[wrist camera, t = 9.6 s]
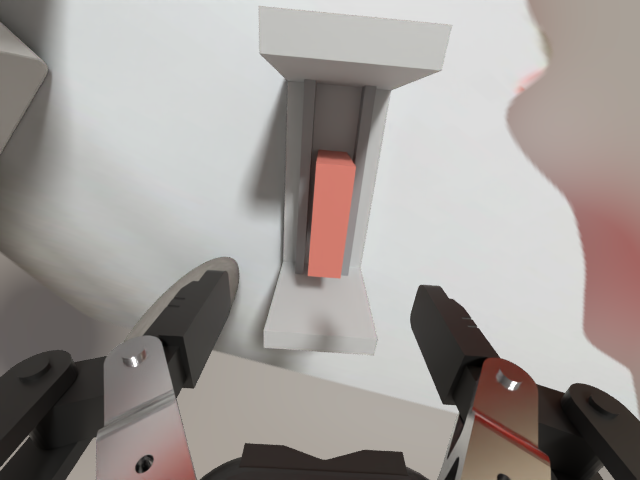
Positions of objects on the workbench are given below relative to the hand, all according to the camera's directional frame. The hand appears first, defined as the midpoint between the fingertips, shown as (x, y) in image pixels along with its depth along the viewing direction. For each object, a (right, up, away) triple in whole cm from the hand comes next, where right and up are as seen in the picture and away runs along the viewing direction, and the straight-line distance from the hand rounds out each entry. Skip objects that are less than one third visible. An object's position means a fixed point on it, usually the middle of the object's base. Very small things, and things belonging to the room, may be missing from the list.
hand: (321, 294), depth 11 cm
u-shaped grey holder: (+1, +9, +20) cm, 22 cm away
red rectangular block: (+1, +7, +19) cm, 20 cm away
